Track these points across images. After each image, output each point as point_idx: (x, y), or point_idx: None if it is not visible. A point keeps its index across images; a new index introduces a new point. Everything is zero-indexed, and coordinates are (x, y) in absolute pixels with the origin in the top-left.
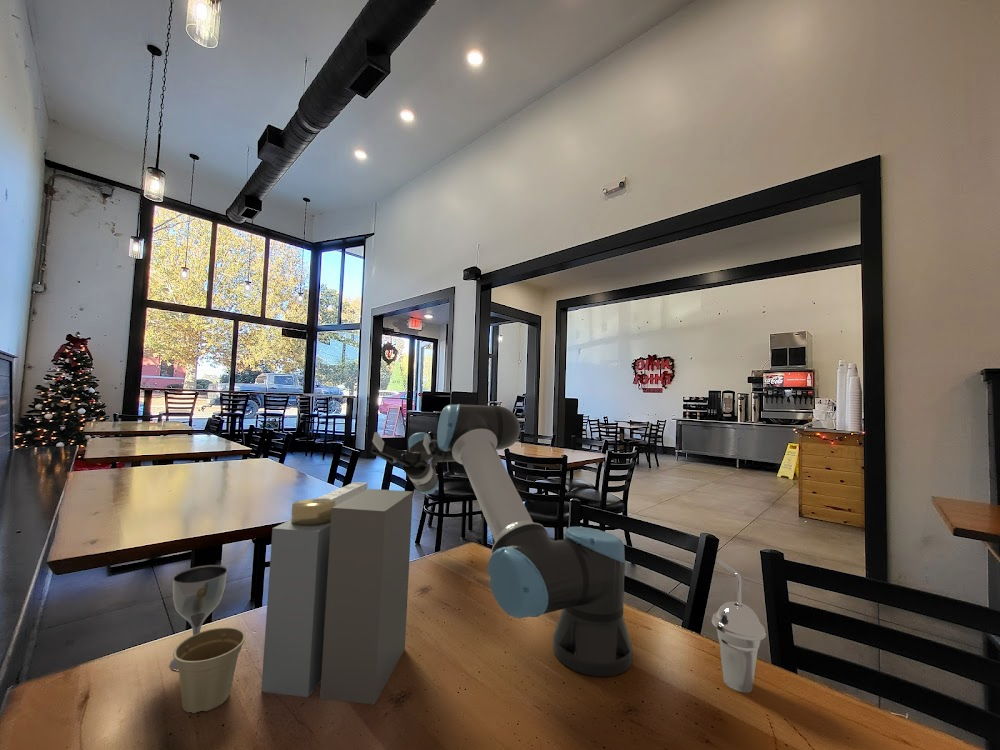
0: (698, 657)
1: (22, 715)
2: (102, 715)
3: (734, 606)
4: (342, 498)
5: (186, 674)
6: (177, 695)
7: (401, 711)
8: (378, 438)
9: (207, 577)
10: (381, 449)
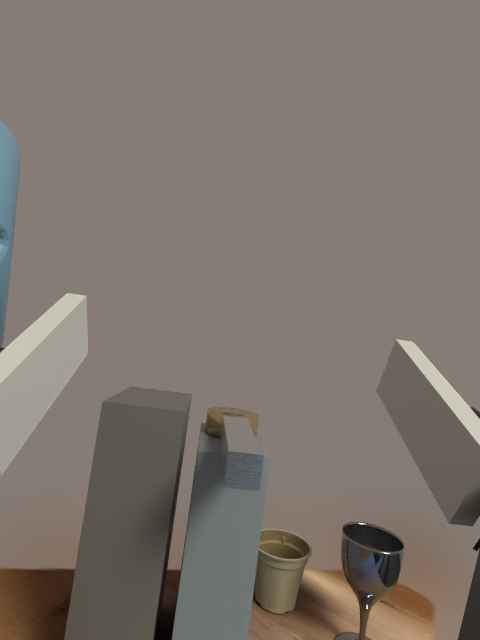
0: None
1: (397, 585)
2: (340, 586)
3: None
4: (223, 429)
5: (278, 546)
6: (307, 604)
7: (66, 593)
8: (405, 383)
9: (393, 569)
10: (438, 493)
